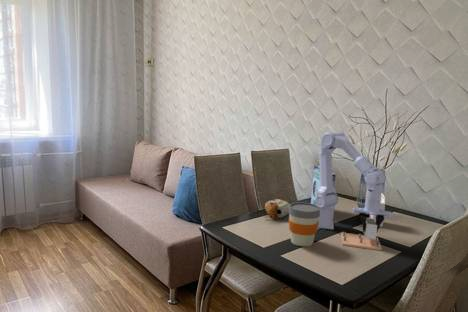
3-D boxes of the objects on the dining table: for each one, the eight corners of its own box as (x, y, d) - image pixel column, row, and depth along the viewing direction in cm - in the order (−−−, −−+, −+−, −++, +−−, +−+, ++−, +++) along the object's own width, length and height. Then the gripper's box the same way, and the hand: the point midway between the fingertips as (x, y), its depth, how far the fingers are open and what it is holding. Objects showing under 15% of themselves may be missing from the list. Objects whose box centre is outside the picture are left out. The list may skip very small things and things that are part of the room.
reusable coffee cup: (299, 250, 133) (302, 213, 130) (280, 238, 144) (282, 204, 141) (324, 245, 138) (327, 209, 136) (304, 233, 149) (306, 200, 147)
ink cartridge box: (368, 219, 170) (371, 191, 168) (379, 220, 169) (382, 192, 167) (371, 226, 162) (375, 196, 159) (382, 227, 161) (386, 197, 158)
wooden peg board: (342, 245, 139) (342, 239, 139) (340, 234, 150) (341, 228, 150) (381, 250, 135) (382, 244, 135) (377, 238, 147) (377, 233, 146)
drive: (365, 238, 138) (366, 223, 137) (363, 231, 146) (364, 217, 145) (375, 239, 137) (377, 225, 136) (373, 232, 145) (374, 218, 144)
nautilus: (276, 227, 157) (249, 220, 166) (298, 213, 174) (272, 208, 183) (276, 210, 156) (249, 205, 165) (297, 198, 172) (272, 193, 182)
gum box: (310, 206, 188) (313, 165, 184) (319, 206, 188) (322, 166, 184) (321, 219, 169) (325, 173, 165) (332, 219, 169) (336, 174, 165)
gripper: (355, 200, 137) (351, 232, 139) (394, 204, 133) (390, 237, 136) (353, 195, 144) (350, 226, 146) (390, 199, 140) (387, 231, 142)
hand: (369, 231), depth 141 cm, fingers closed on drive, 4 cm apart
